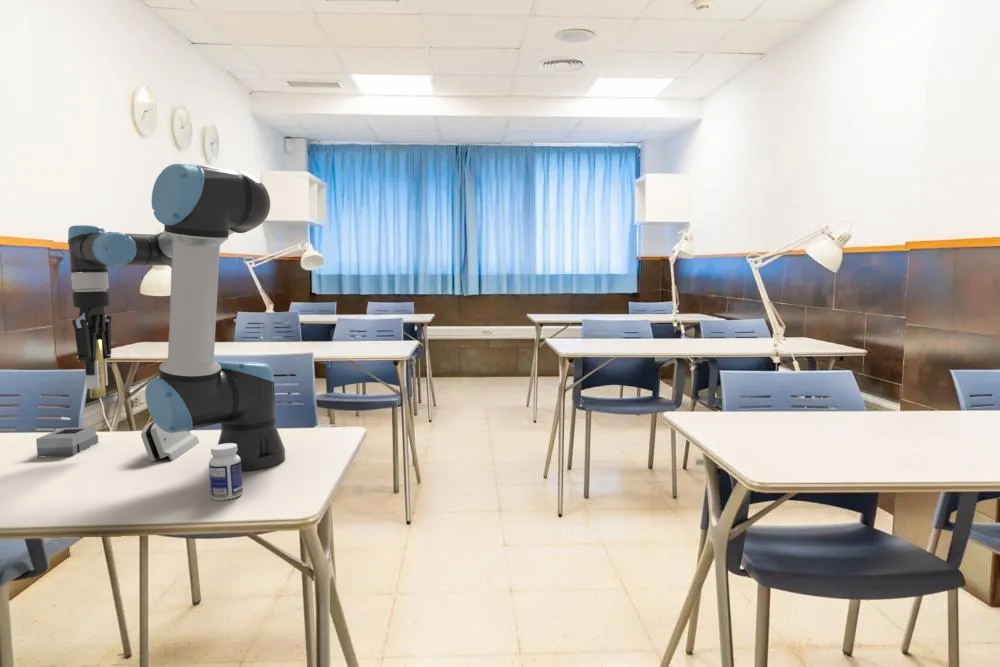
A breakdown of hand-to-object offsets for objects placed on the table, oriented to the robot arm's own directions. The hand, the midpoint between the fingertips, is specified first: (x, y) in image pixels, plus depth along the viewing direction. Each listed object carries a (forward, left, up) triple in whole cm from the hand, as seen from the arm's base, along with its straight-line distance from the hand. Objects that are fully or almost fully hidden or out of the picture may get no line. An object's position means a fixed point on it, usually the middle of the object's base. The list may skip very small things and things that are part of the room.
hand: (97, 386), depth 160 cm
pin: (0, 0, -3) cm, 3 cm away
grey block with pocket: (+2, +8, -16) cm, 18 cm away
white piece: (-4, -18, -16) cm, 24 cm away
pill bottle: (-38, -42, -16) cm, 59 cm away
